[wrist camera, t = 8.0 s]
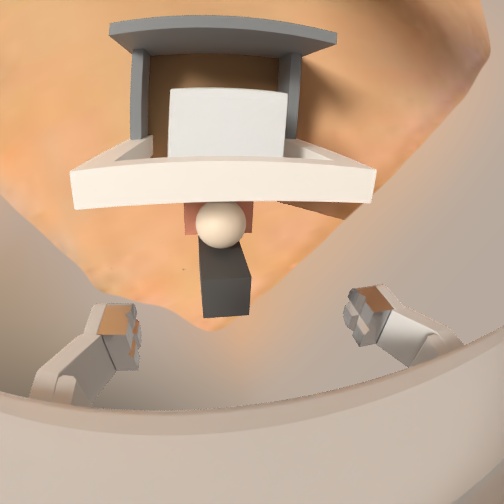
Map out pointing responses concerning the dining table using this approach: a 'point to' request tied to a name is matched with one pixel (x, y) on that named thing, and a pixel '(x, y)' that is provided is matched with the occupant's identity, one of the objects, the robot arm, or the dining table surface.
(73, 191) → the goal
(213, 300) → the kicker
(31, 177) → the dining table surface
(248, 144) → the supplement box
